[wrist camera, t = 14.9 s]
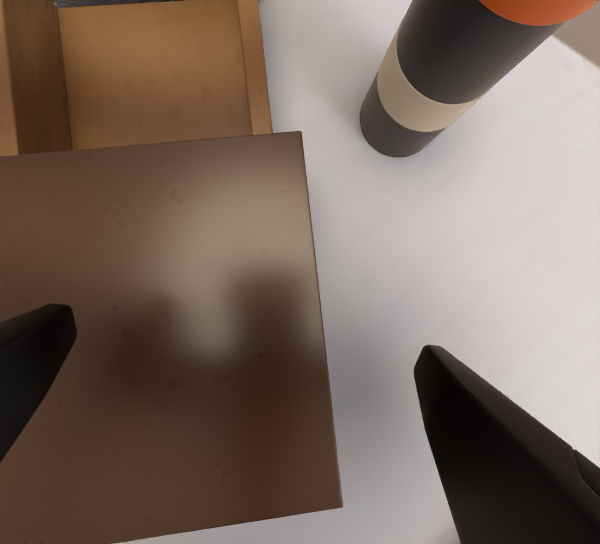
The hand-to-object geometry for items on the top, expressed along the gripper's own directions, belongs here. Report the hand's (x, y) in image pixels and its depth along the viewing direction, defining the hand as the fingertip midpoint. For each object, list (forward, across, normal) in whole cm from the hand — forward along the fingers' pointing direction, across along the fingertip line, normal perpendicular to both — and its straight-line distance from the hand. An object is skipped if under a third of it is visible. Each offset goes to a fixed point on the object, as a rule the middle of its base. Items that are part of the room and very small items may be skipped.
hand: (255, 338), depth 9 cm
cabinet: (+8, +3, +6) cm, 10 cm away
